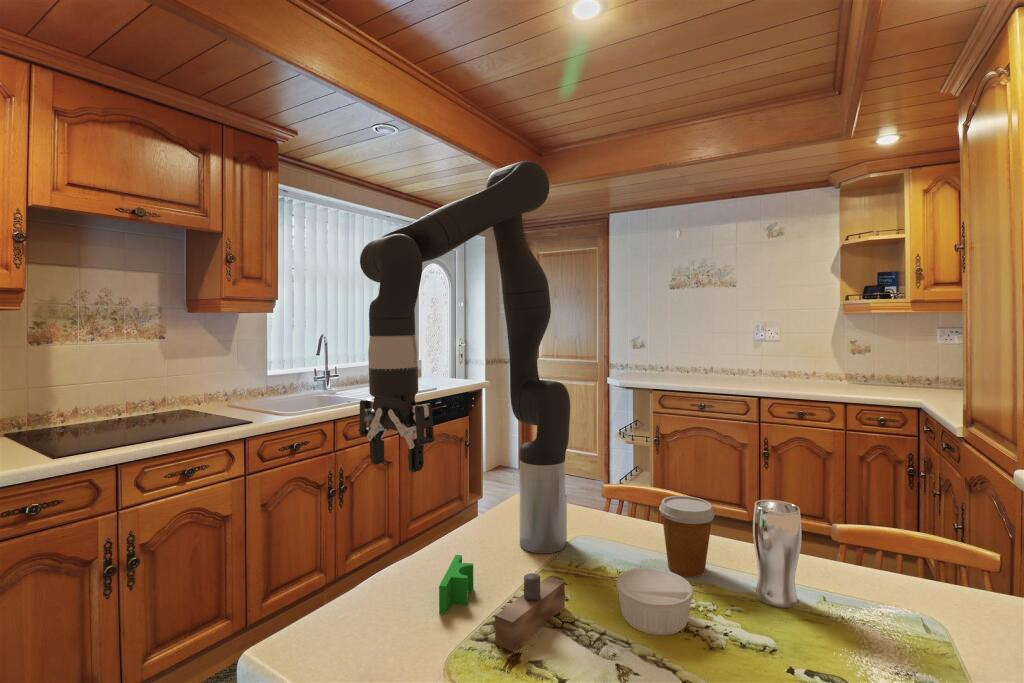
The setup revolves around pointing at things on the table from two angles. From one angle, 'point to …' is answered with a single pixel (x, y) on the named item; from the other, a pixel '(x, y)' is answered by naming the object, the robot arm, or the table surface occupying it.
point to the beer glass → (777, 551)
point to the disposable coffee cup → (686, 533)
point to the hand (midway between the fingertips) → (396, 467)
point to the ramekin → (654, 600)
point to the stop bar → (529, 611)
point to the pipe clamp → (455, 584)
